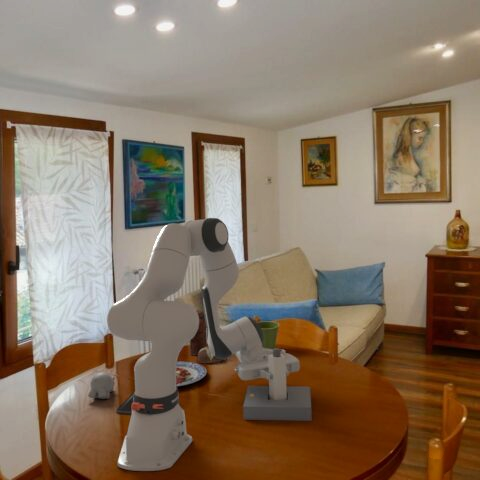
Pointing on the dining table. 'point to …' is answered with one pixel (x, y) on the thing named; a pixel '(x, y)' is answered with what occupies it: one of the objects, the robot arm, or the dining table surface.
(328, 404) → the dining table surface
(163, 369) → the robot arm
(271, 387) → the white square bottle
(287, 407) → the block
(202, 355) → the bread
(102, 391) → the chubby cartoon animal
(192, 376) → the ceramic plate
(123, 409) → the phone
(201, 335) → the wooden figurine
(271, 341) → the plant pot
